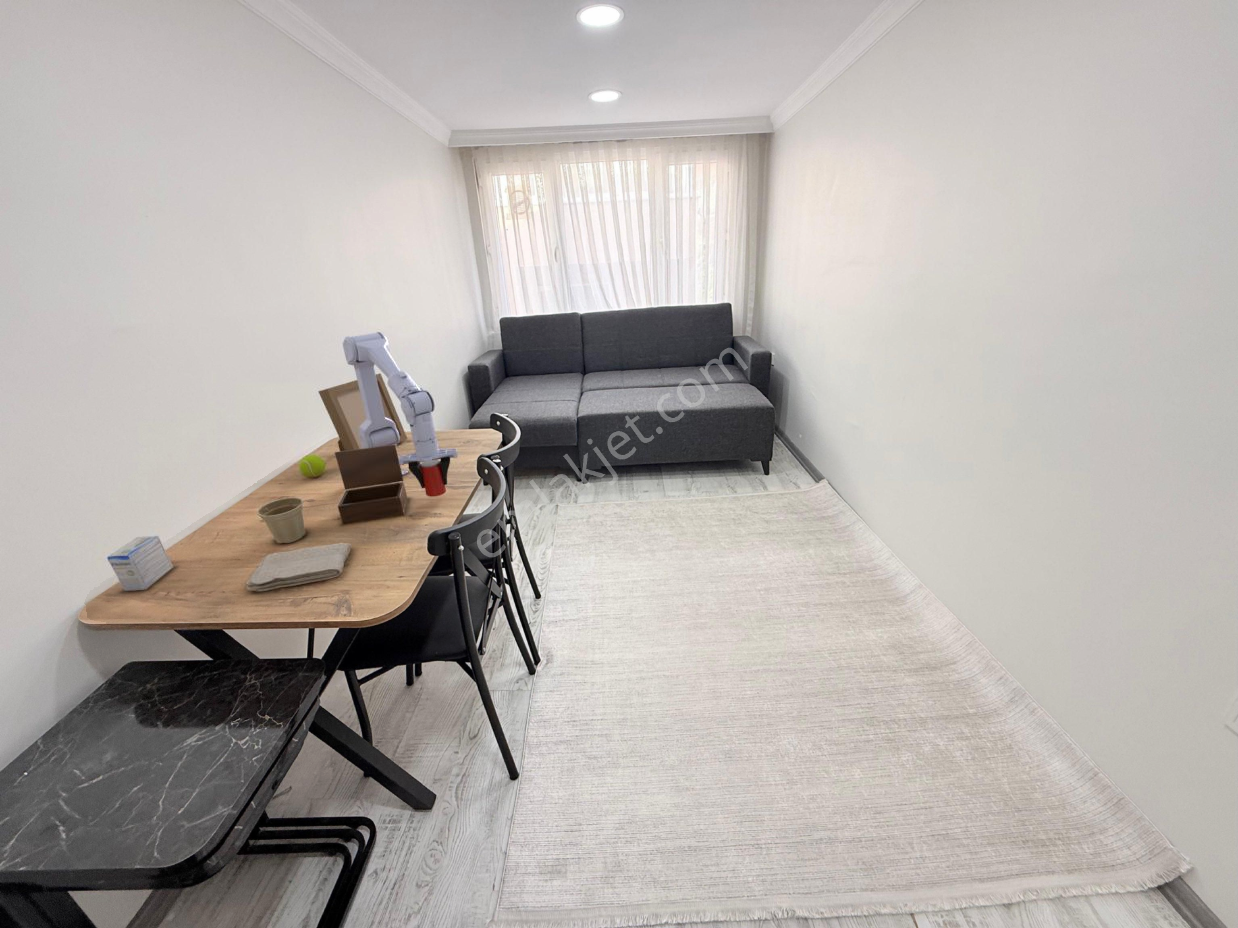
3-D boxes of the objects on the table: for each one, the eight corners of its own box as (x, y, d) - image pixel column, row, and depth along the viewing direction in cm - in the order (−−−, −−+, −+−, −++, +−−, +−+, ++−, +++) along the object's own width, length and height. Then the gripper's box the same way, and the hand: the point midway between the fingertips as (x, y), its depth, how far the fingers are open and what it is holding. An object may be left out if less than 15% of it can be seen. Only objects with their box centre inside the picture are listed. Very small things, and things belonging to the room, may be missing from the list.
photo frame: (408, 441, 181) (392, 374, 171) (360, 464, 162) (340, 390, 152) (377, 437, 186) (360, 372, 176) (327, 459, 167) (306, 387, 157)
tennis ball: (313, 482, 151) (307, 461, 148) (297, 479, 153) (290, 458, 150) (333, 472, 156) (327, 452, 154) (317, 470, 159) (310, 450, 156)
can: (422, 494, 133) (415, 465, 130) (436, 486, 138) (430, 457, 134) (435, 498, 131) (429, 468, 128) (450, 490, 135) (444, 460, 132)
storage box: (404, 515, 129) (399, 497, 127) (343, 524, 125) (337, 506, 123) (407, 499, 137) (403, 481, 135) (350, 507, 134) (345, 490, 132)
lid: (395, 445, 131) (395, 444, 131) (334, 452, 127) (335, 452, 128) (403, 481, 135) (403, 480, 135) (345, 489, 131) (345, 488, 132)
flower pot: (322, 530, 123) (312, 499, 120) (288, 550, 115) (276, 518, 112) (294, 525, 126) (284, 495, 123) (259, 544, 118) (247, 513, 115)
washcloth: (266, 563, 110) (261, 552, 109) (353, 548, 115) (350, 537, 114) (245, 596, 100) (240, 583, 99) (342, 577, 104) (339, 565, 103)
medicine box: (153, 569, 110) (136, 536, 107) (174, 567, 110) (158, 534, 107) (124, 591, 103) (105, 557, 99) (146, 590, 103) (128, 555, 100)
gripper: (392, 447, 123) (404, 495, 128) (453, 439, 126) (462, 486, 132) (396, 438, 129) (407, 484, 134) (453, 430, 133) (462, 476, 138)
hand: (434, 485), depth 134 cm, fingers closed on can, 5 cm apart
